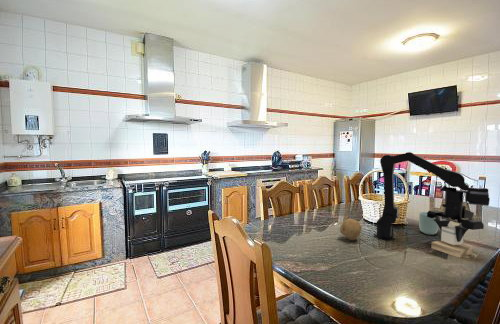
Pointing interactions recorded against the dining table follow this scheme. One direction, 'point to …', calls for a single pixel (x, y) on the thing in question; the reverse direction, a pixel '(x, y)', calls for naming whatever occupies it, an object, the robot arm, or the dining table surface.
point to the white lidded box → (450, 235)
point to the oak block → (452, 248)
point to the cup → (427, 224)
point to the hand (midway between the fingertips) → (452, 239)
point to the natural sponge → (350, 229)
